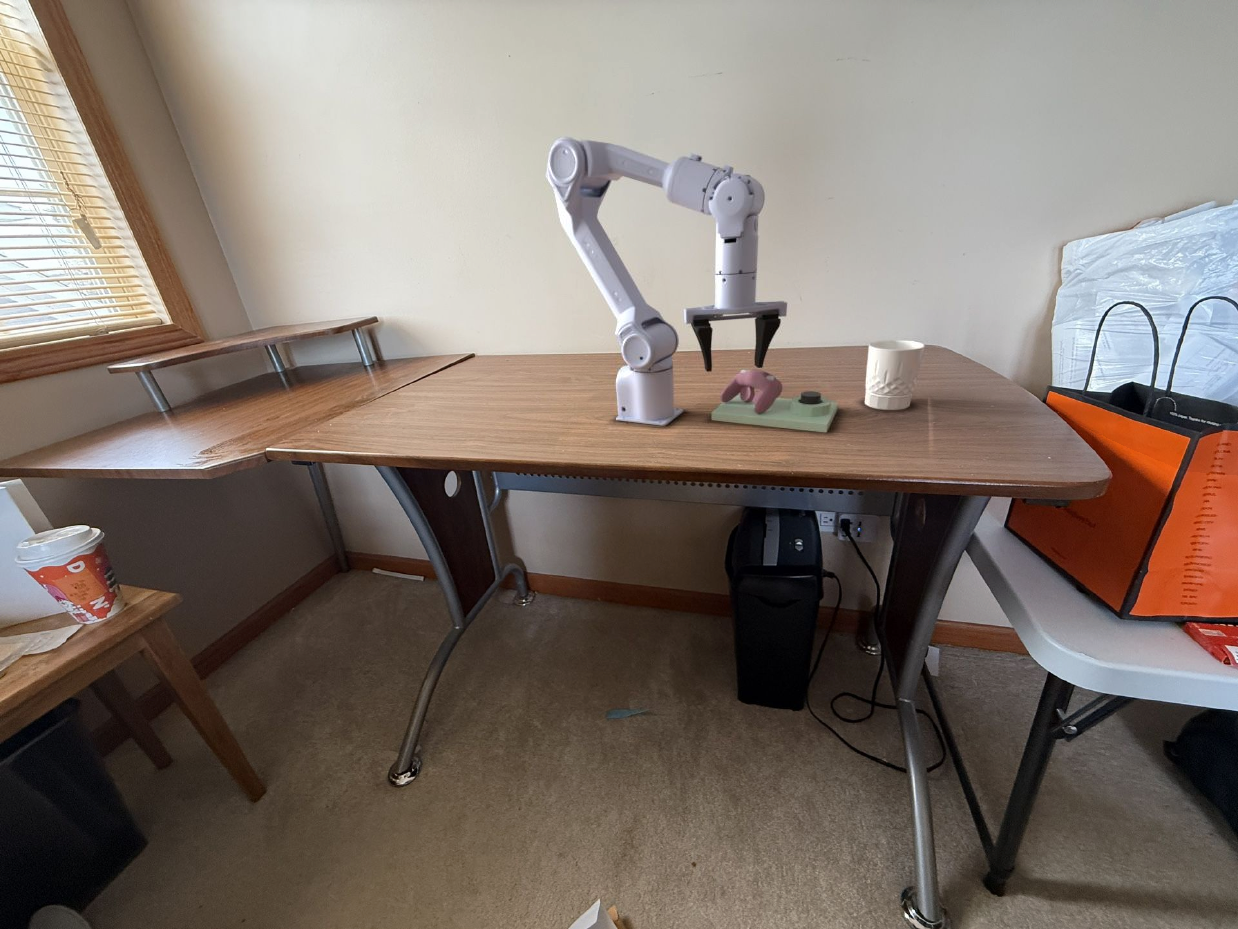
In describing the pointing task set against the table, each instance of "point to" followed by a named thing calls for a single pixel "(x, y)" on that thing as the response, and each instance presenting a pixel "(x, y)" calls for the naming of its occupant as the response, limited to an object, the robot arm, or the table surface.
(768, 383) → the video game controller
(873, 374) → the white cup
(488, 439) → the table surface
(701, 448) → the table surface
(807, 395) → the button
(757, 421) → the scale
